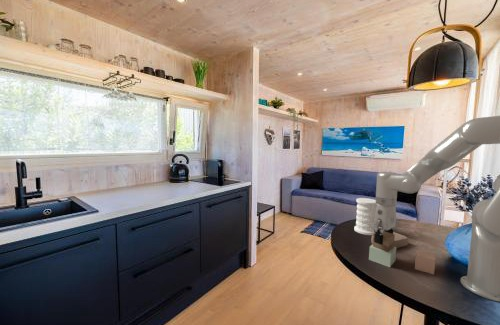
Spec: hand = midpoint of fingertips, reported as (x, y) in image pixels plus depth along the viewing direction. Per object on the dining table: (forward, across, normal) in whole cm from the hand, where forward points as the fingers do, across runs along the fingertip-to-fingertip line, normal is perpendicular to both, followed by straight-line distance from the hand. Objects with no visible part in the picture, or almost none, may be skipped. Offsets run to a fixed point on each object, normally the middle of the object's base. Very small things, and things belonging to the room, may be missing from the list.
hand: (383, 240), depth 95 cm
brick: (+9, +19, +5) cm, 22 cm away
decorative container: (+9, +26, +20) cm, 34 cm away
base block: (+9, 0, 0) cm, 9 cm away
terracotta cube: (+9, +7, -13) cm, 17 cm away
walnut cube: (+3, 0, 0) cm, 3 cm away
